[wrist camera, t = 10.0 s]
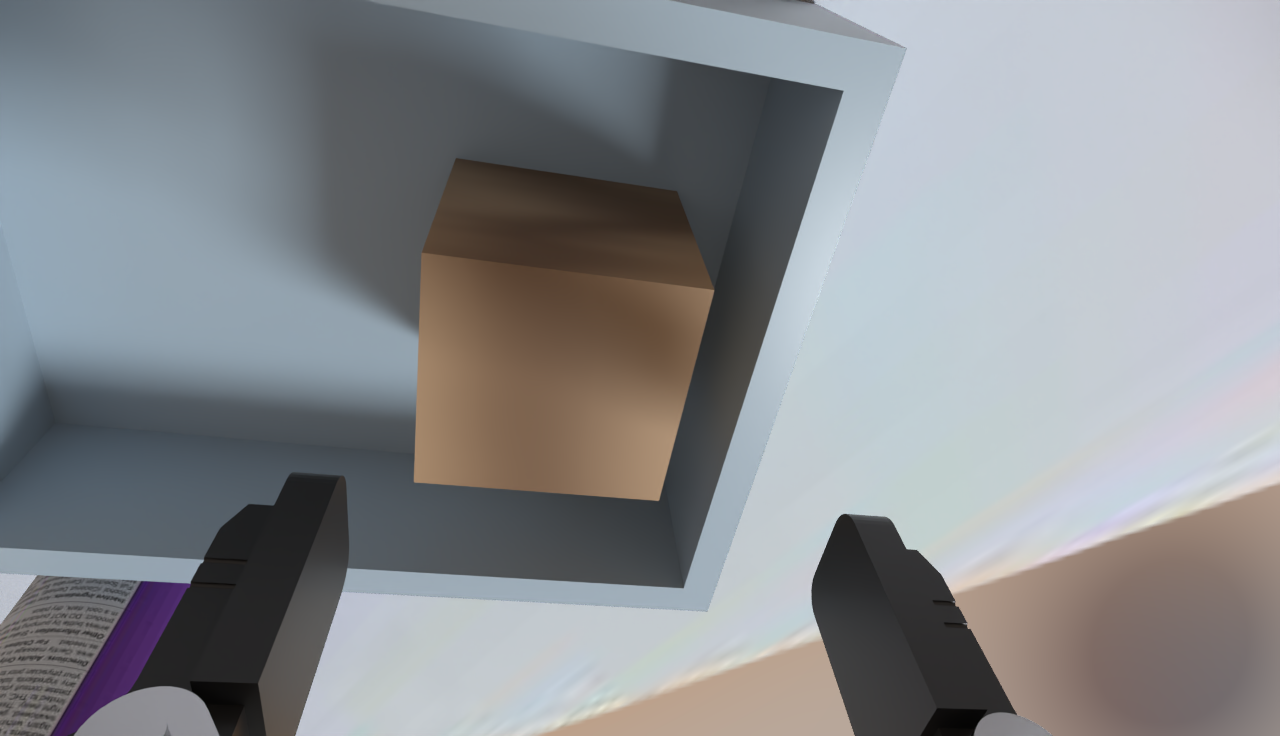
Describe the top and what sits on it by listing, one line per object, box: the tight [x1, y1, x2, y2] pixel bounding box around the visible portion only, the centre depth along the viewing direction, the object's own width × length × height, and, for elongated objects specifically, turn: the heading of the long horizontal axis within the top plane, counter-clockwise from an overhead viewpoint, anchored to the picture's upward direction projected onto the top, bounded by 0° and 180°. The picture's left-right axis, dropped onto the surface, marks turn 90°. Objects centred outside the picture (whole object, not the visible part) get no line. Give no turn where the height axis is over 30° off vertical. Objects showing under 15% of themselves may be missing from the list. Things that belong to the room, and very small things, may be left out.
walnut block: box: [414, 158, 714, 501], centre depth 16 cm, size 5×5×5 cm
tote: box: [0, 0, 907, 612], centre depth 16 cm, size 18×14×5 cm
